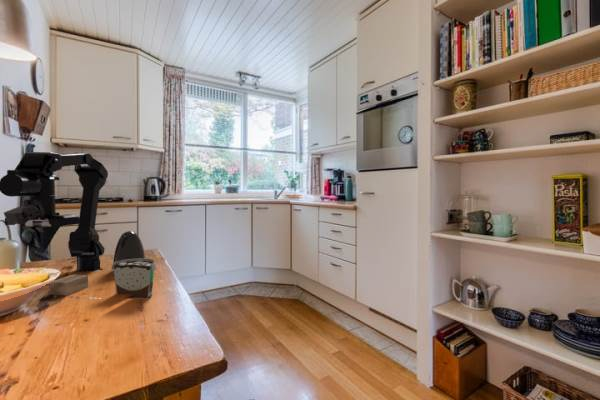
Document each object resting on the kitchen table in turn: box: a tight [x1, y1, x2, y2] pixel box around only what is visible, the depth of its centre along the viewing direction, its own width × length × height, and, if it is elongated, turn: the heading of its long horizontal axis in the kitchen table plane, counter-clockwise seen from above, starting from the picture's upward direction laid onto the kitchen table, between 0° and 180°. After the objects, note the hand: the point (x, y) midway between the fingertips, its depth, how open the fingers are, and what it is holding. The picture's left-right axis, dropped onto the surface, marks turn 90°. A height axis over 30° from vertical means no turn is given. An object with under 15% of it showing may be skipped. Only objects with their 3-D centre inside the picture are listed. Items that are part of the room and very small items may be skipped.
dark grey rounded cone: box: [112, 230, 146, 263], centre depth 104 cm, size 10×10×15 cm
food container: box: [110, 258, 158, 300], centre depth 83 cm, size 12×6×10 cm, turn 85°
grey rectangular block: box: [49, 274, 89, 296], centre depth 83 cm, size 5×7×4 cm
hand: (43, 249), depth 84 cm, fingers closed
